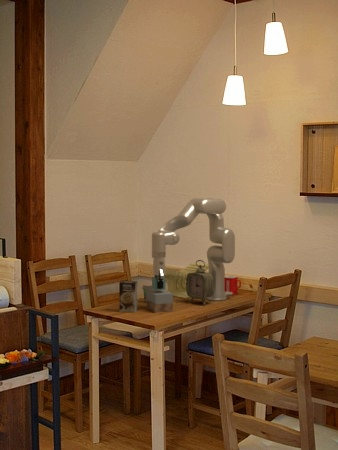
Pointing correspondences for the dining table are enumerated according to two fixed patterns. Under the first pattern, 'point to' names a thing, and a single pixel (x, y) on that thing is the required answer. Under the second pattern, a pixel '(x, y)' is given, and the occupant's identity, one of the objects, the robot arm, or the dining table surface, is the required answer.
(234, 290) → the mug
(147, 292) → the white box
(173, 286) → the slatted curved stool
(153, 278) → the teal cube
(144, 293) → the food container
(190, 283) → the tabletop clock
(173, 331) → the dining table surface
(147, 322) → the dining table surface
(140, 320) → the dining table surface
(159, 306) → the base block
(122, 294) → the coffee box
